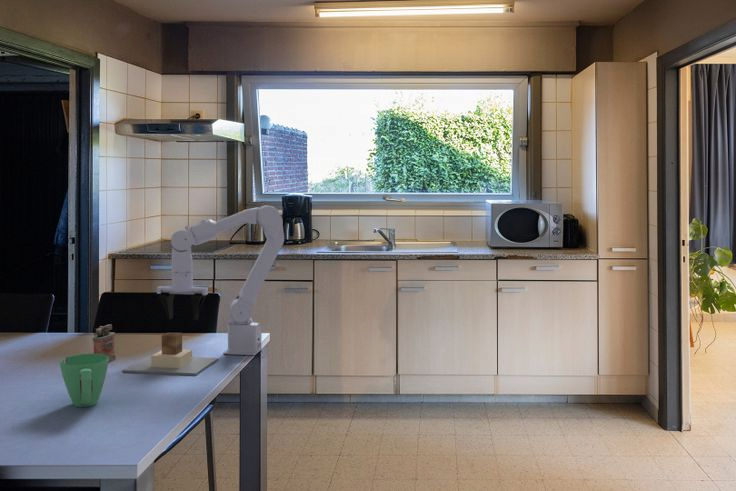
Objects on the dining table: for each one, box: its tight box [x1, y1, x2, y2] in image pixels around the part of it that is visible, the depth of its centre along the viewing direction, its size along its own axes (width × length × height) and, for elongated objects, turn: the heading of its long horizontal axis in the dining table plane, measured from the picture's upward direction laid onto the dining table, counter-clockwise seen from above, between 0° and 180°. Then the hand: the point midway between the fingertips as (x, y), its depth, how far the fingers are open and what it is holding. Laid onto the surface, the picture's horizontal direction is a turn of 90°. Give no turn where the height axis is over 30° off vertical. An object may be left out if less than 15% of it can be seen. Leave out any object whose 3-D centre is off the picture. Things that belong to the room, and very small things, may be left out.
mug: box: [59, 353, 109, 408], centre depth 144 cm, size 15×10×10 cm
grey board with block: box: [121, 348, 219, 377], centre depth 178 cm, size 20×16×4 cm
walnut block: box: [161, 332, 183, 355], centre depth 178 cm, size 4×4×5 cm
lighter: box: [92, 324, 116, 364], centre depth 182 cm, size 8×3×10 cm, turn 168°
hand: (182, 319), depth 190 cm, fingers open, 7 cm apart
